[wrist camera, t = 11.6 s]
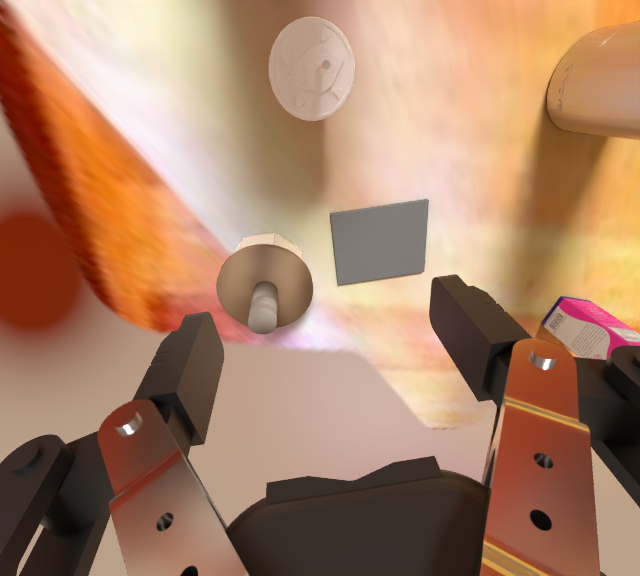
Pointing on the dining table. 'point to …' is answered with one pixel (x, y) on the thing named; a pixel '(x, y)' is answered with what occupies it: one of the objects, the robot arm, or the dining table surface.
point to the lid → (264, 287)
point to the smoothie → (311, 68)
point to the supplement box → (588, 328)
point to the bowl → (268, 242)
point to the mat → (380, 241)
